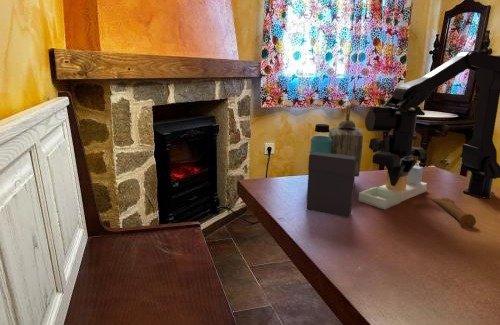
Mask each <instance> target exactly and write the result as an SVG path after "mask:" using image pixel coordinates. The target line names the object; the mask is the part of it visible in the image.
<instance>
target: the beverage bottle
mask: <svg viewBox="0 0 500 325" xmlns="http://www.w3.org/2000/svg"><path fill="white" fill-rule="evenodd" d="M329 130H330V125H329V124H328V123H327V124H326V123H317V124H315V127H314V132H316V133H329ZM331 147H332V139H331V138H330V137H329V135H327V134H314V135H313V136H312V137H311V138H310V149H309V155H310V154H311V153H313V152H321V153H330V154H331ZM309 155H308V156H309ZM308 174H309V171H308ZM308 174H307V175H308Z"/></svg>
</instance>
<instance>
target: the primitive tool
mask: <svg viewBox="0 0 500 325" xmlns="http://www.w3.org/2000/svg"><path fill="white" fill-rule="evenodd" d="M430 200H431V201H432V202H433V203H435V204H436V205H437V206H439V207H440V208H442V209H443V210H444V211H445V212H447V213H448V214H449V215H451V216H452V217H453V218H455V219H456V220H457V221H458V224H459V225H460V226H461V227H463V228H473V227H474V226H475V225H476V223H477V220H476V218H475V216H474V215H473V214H470V213H467V212H465V211H463V210H462V208H460V207H459V206H458V205H457V204H456V203H455V201H454V200H452V199H450V198H447V197H445V198H434V197H432V198H430Z"/></svg>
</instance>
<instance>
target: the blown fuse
mask: <svg viewBox="0 0 500 325" xmlns="http://www.w3.org/2000/svg"><path fill="white" fill-rule="evenodd" d="M386 174H387V175H386V183H385V185H386V187H388V188H391V189H395V190H398V191H402V190H405V189H406V184H407V177H408V172H405V171H402V173H401V175H400V177H399V180H398V182H397V184H396V185H395V186H392V185H391V182H390V178H389V173H388V170H387V171H386Z"/></svg>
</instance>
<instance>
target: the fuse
mask: <svg viewBox="0 0 500 325" xmlns="http://www.w3.org/2000/svg"><path fill="white" fill-rule="evenodd" d="M423 173H424V167H423V166H418V165H416V164H415V165H414V166H413V168H412V169H411V170H410V172H409V173H408V177H407V183H410V184H414V185H418V184H420V183H421V182H422V180H423V179H422V178H423Z"/></svg>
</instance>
